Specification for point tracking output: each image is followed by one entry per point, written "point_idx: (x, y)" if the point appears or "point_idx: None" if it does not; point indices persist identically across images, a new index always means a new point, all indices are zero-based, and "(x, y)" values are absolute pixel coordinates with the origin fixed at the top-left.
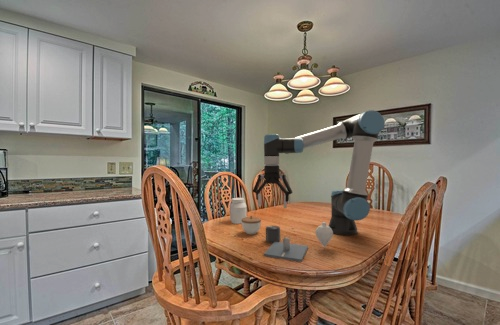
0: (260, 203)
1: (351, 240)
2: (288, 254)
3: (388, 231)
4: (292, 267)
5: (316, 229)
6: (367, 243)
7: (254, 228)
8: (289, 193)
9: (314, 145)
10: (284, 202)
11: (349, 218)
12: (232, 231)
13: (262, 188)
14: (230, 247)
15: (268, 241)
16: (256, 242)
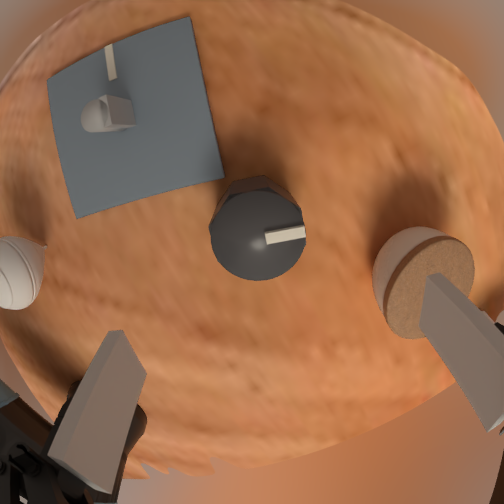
0: (436, 327)
1: (46, 348)
2: (95, 78)
3: (52, 418)
4: (65, 28)
5: (14, 265)
6: (18, 339)
7: (389, 246)
8: (8, 463)
9: None
10: (91, 381)
11: (9, 387)
12: (468, 230)
13: (501, 497)
14: (382, 38)
15: (262, 175)
16: (318, 143)
